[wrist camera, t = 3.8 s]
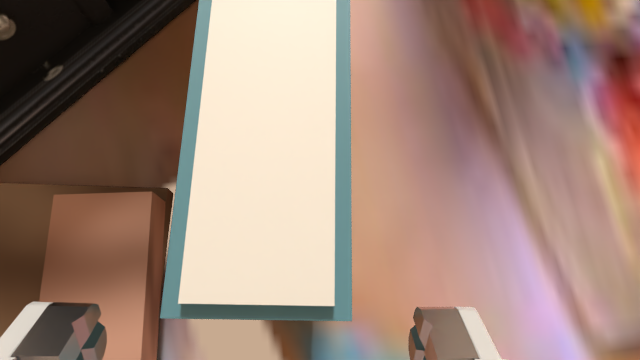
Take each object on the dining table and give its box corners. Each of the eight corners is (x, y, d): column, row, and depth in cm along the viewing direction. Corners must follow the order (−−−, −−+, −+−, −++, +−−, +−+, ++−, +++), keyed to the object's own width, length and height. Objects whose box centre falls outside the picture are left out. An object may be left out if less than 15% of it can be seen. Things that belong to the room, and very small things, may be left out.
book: (313, 308, 24) (353, 321, 8) (245, 307, 24) (155, 318, 8) (317, 135, 27) (350, -88, 12) (256, 133, 27) (208, -98, 11)
